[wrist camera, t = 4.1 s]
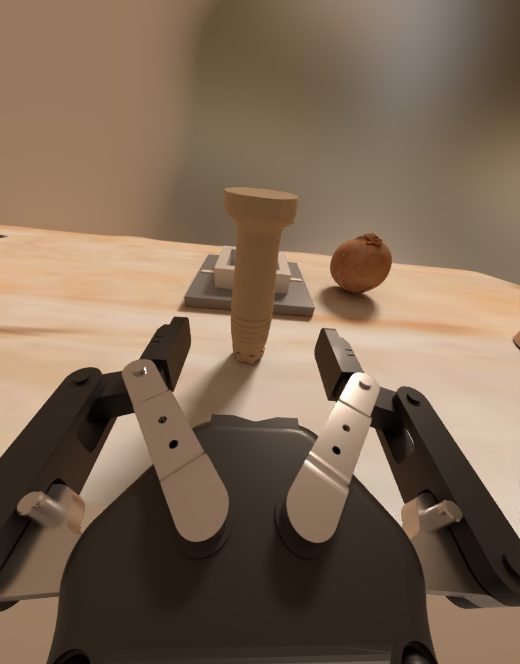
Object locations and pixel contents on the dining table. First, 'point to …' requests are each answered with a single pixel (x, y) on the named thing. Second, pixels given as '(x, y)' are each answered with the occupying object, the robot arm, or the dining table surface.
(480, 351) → the dining table surface
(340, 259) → the onion
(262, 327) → the handle
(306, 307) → the square socket base
